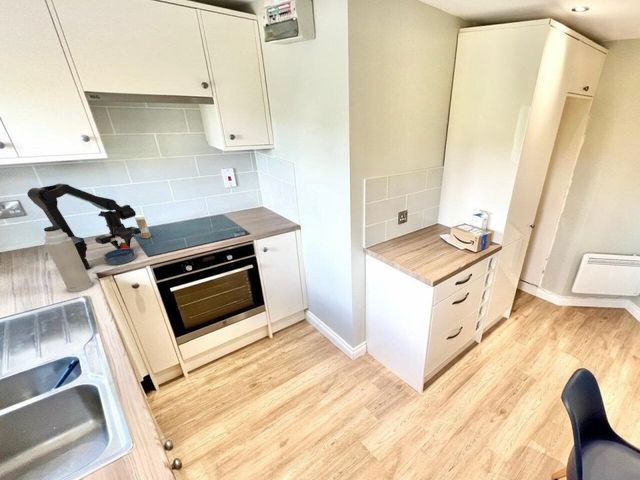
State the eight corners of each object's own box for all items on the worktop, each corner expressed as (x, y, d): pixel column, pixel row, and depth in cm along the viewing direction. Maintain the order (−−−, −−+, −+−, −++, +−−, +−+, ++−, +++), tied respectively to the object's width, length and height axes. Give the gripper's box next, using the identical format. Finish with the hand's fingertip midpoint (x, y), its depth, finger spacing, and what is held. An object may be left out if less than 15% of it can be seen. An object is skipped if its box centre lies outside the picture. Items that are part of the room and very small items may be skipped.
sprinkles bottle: (140, 239, 190) (132, 217, 184) (143, 236, 194) (136, 214, 188) (149, 238, 192) (142, 216, 185) (152, 235, 195) (145, 214, 189)
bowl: (115, 267, 158) (112, 260, 157) (100, 262, 162) (97, 255, 161) (141, 257, 169) (139, 251, 167) (127, 253, 173) (124, 246, 171)
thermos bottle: (63, 290, 138) (31, 230, 126) (81, 281, 145) (53, 223, 133) (79, 292, 138) (49, 231, 125) (97, 283, 145) (70, 224, 132)
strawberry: (123, 254, 172) (119, 244, 169) (118, 252, 173) (114, 242, 171) (132, 251, 175) (128, 241, 173) (127, 249, 177) (123, 239, 174)
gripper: (102, 230, 156) (114, 259, 163) (142, 219, 172) (152, 246, 179) (89, 226, 160) (101, 255, 167) (129, 216, 175) (139, 242, 182)
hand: (124, 249), depth 174 cm, fingers closed on strawberry, 4 cm apart
